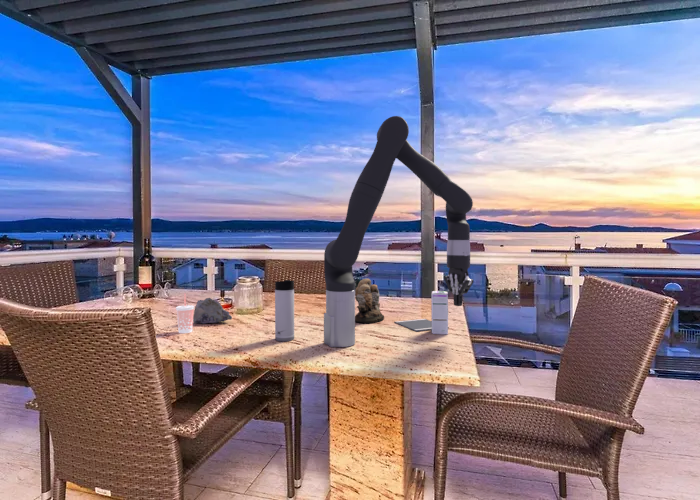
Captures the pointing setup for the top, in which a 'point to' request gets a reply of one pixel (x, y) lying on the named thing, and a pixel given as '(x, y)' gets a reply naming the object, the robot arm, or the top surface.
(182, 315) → the beverage cup
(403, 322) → the mat
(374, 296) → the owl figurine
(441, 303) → the syrup box
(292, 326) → the travel mug
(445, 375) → the top surface
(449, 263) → the robot arm
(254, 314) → the top surface
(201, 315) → the mineral rock
